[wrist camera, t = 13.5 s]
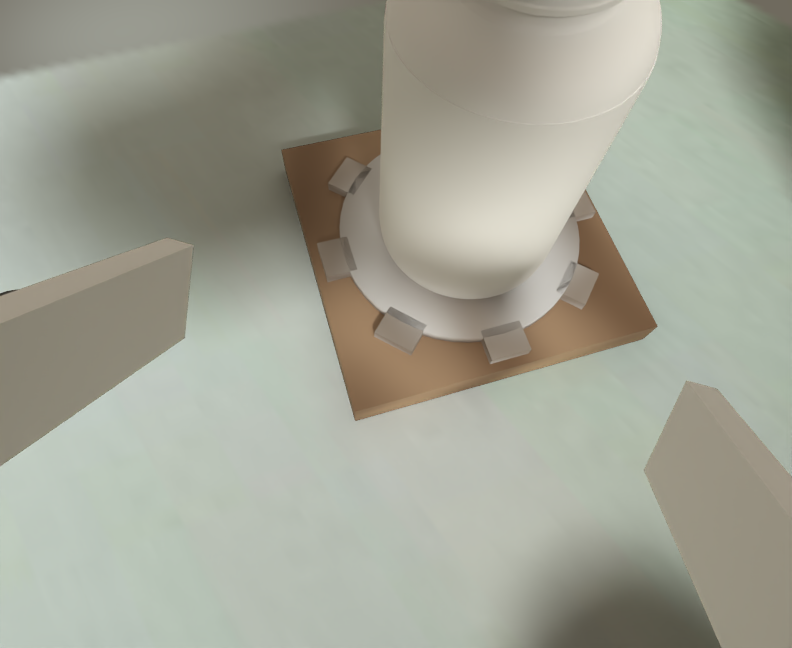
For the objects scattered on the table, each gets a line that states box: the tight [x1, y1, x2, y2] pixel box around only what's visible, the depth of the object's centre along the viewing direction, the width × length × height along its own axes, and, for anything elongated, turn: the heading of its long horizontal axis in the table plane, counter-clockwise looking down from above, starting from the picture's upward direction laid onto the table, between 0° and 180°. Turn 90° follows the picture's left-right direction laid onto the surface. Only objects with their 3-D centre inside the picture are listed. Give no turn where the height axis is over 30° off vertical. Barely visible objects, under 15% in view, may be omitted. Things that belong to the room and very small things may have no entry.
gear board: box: [281, 130, 657, 421], centre depth 27 cm, size 14×14×2 cm
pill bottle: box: [379, 0, 662, 299], centre depth 19 cm, size 8×8×15 cm
